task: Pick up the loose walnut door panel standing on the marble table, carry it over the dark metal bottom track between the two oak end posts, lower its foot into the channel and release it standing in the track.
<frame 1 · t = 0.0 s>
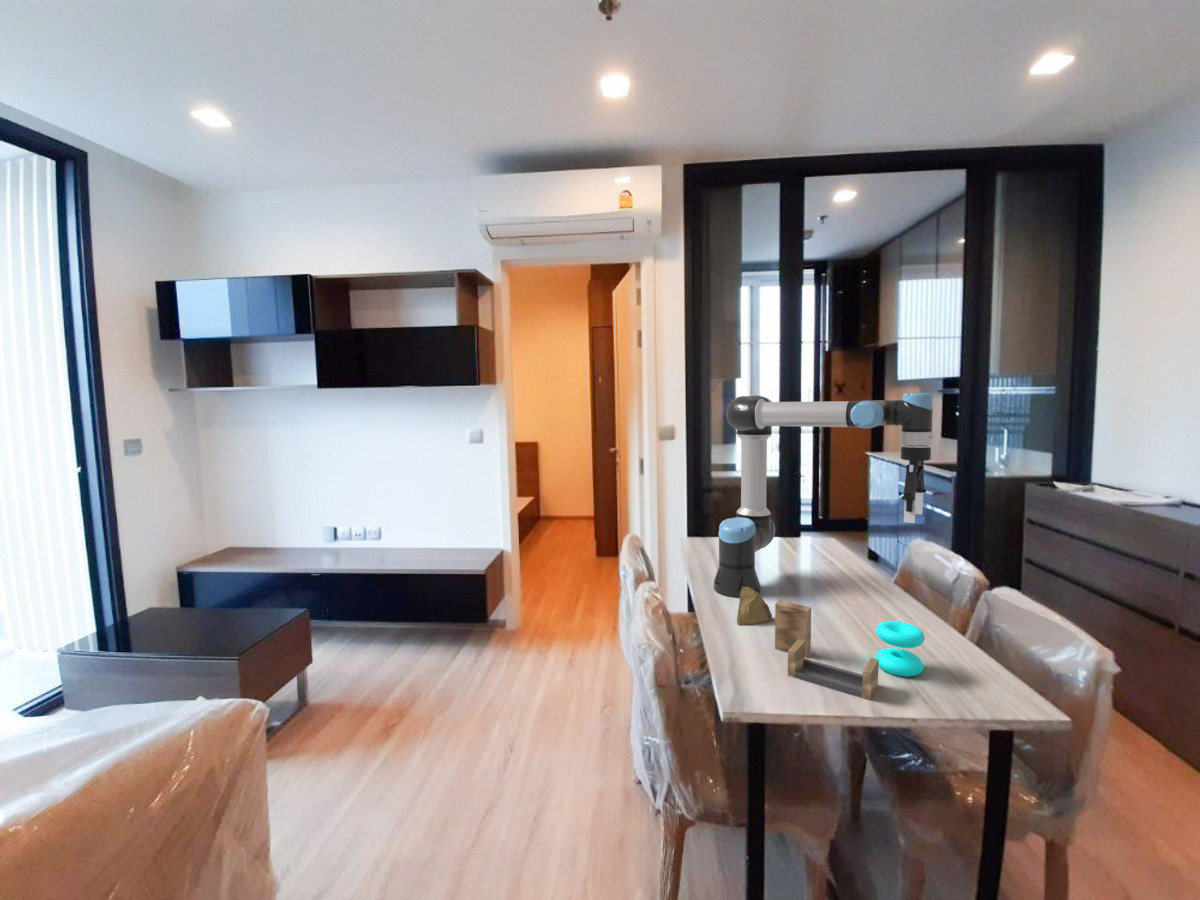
hand: (913, 518, 159), 28 cm above the table, fingers open, 13 cm apart
rock: (754, 622, 156), on the table
door panel: (792, 651, 138), on the table
frame posts: (831, 680, 123), on the table
track: (831, 680, 123), on the table
donuts: (898, 669, 128), on the table
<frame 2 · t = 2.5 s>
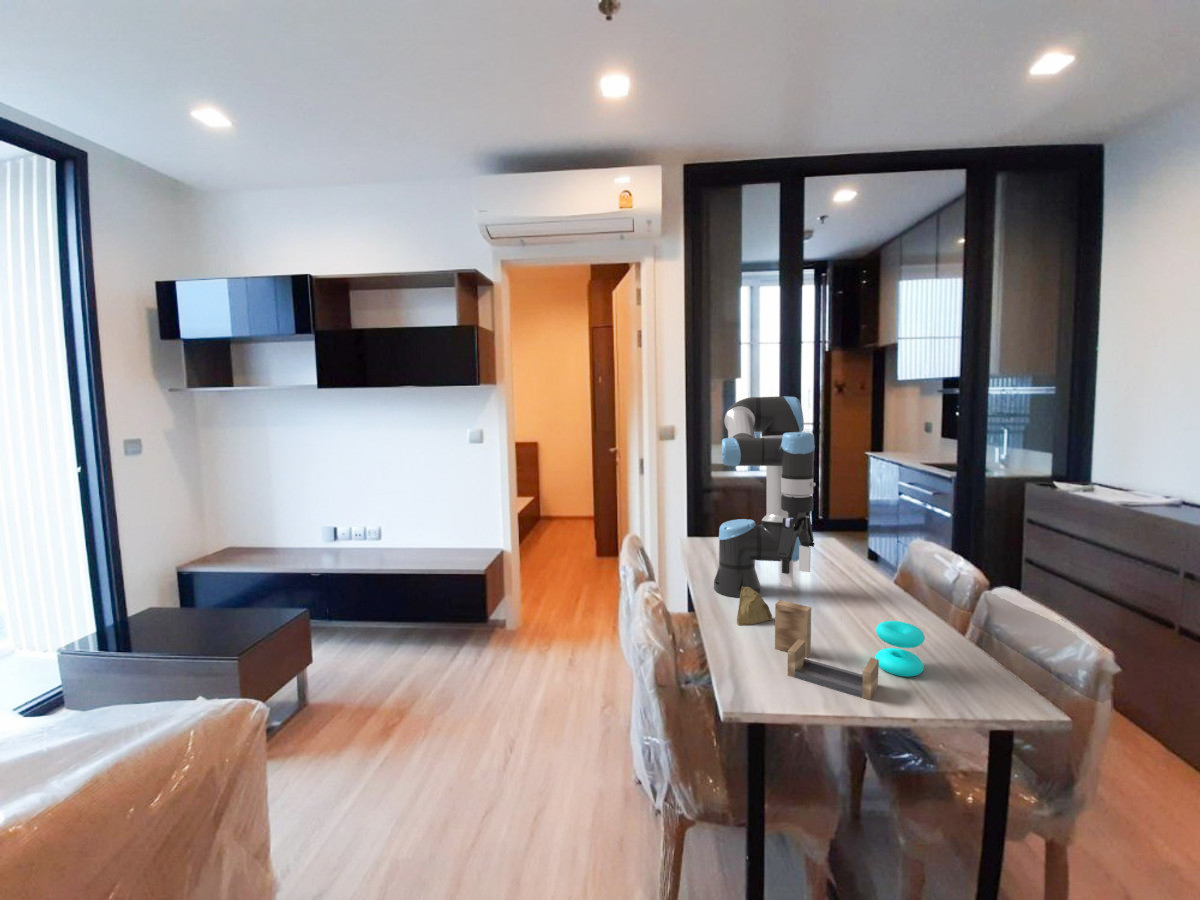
hand: (795, 578, 136), 19 cm above the table, fingers open, 13 cm apart
nothing on the table moved.
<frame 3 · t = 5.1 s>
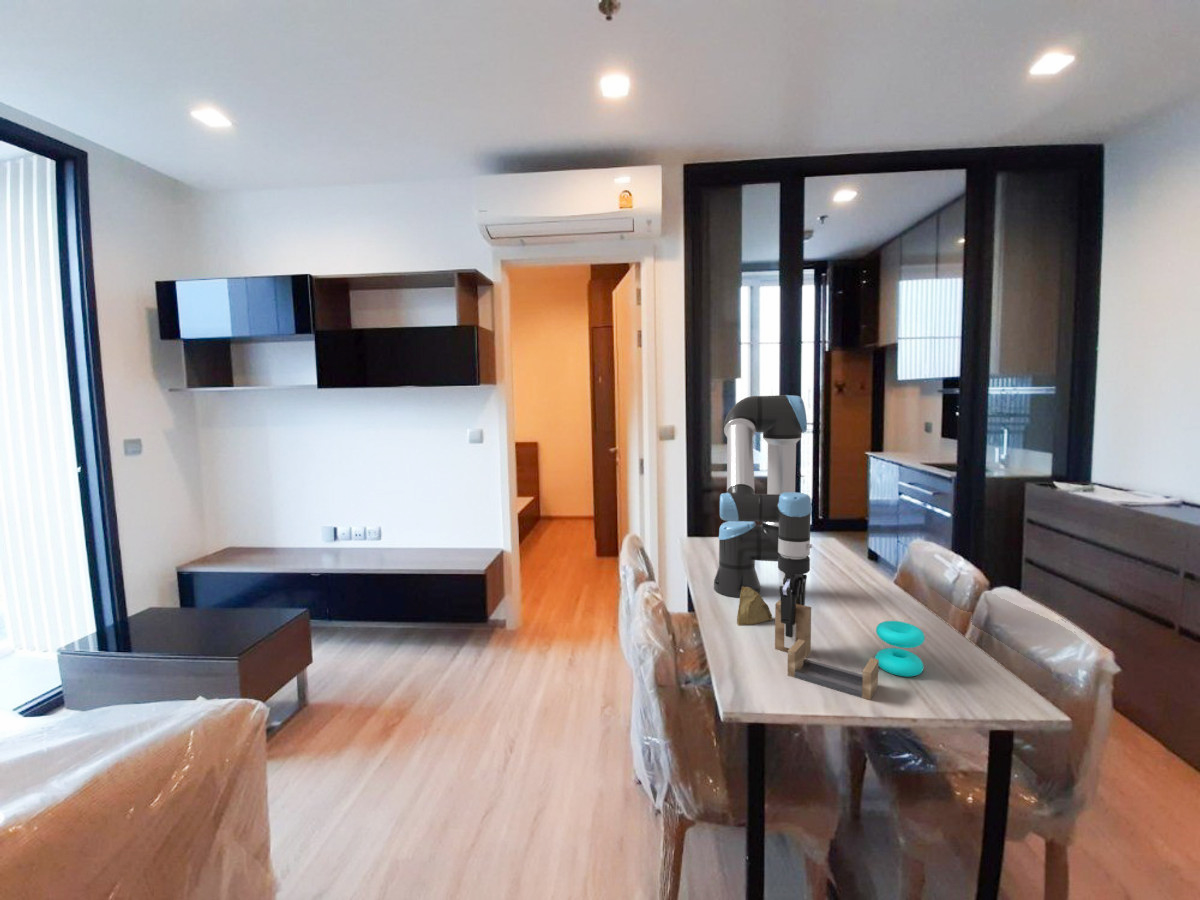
hand: (792, 645, 138), 2 cm above the table, fingers closed on door panel, 3 cm apart
door panel: (792, 651, 138), on the table, touching gripper
everything else where it was.
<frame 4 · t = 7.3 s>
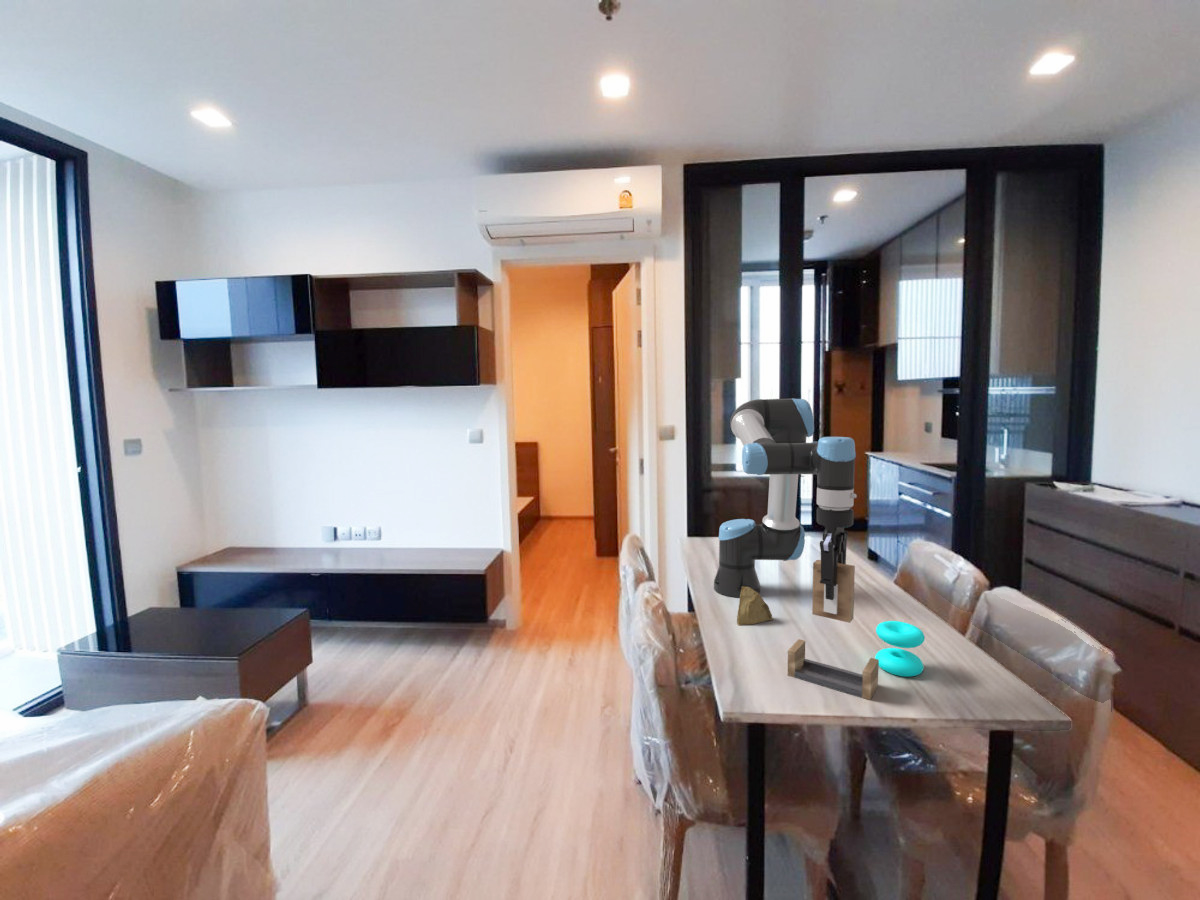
hand: (832, 609, 122), 17 cm above the table, fingers closed on door panel, 3 cm apart
door panel: (832, 616, 122), point 15 cm above the table, touching gripper
everything else where it was.
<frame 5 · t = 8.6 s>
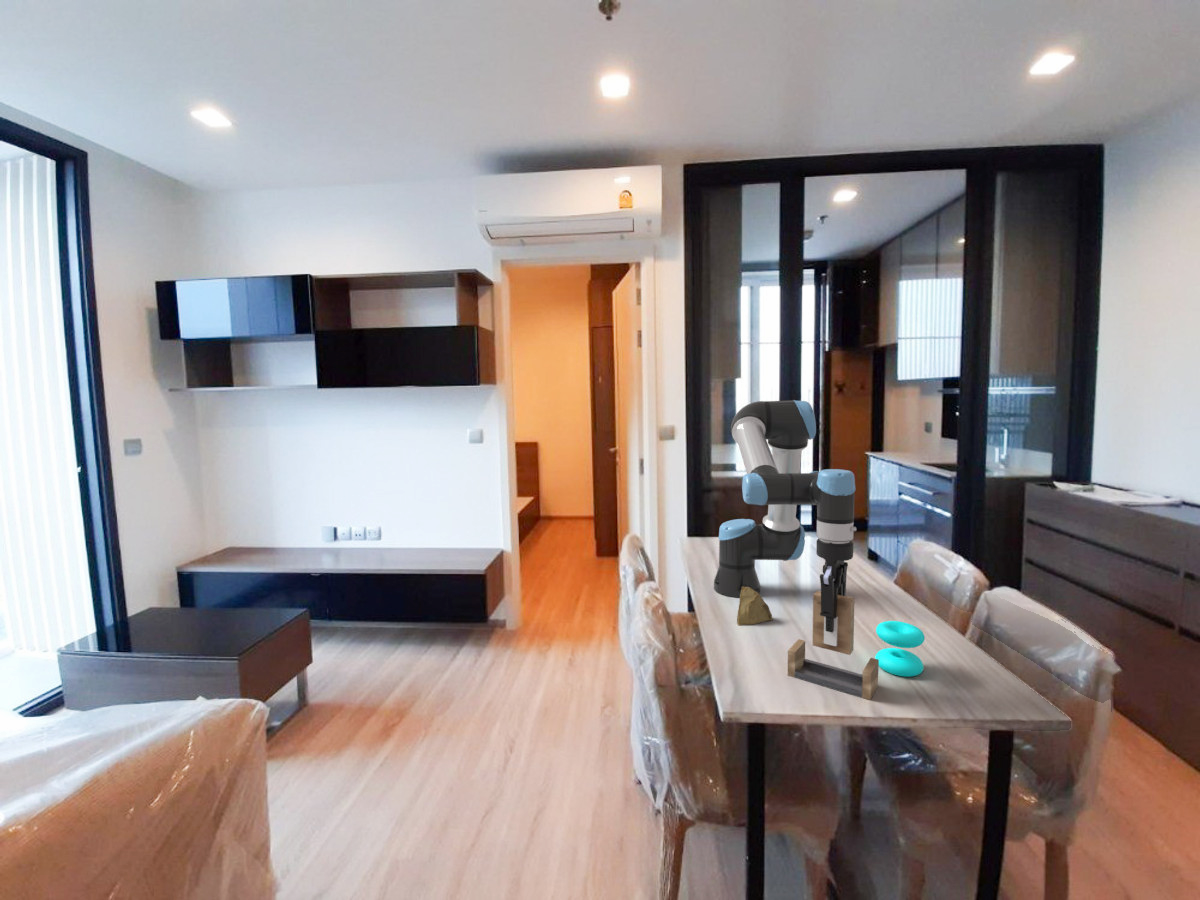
hand: (832, 641, 122), 9 cm above the table, fingers closed on door panel, 3 cm apart
door panel: (832, 647, 123), point 8 cm above the table, touching gripper
everything else where it was.
when the fingers open (4 cm above the table, at t = 9.7 s): door panel drops 2 cm, resting on track.
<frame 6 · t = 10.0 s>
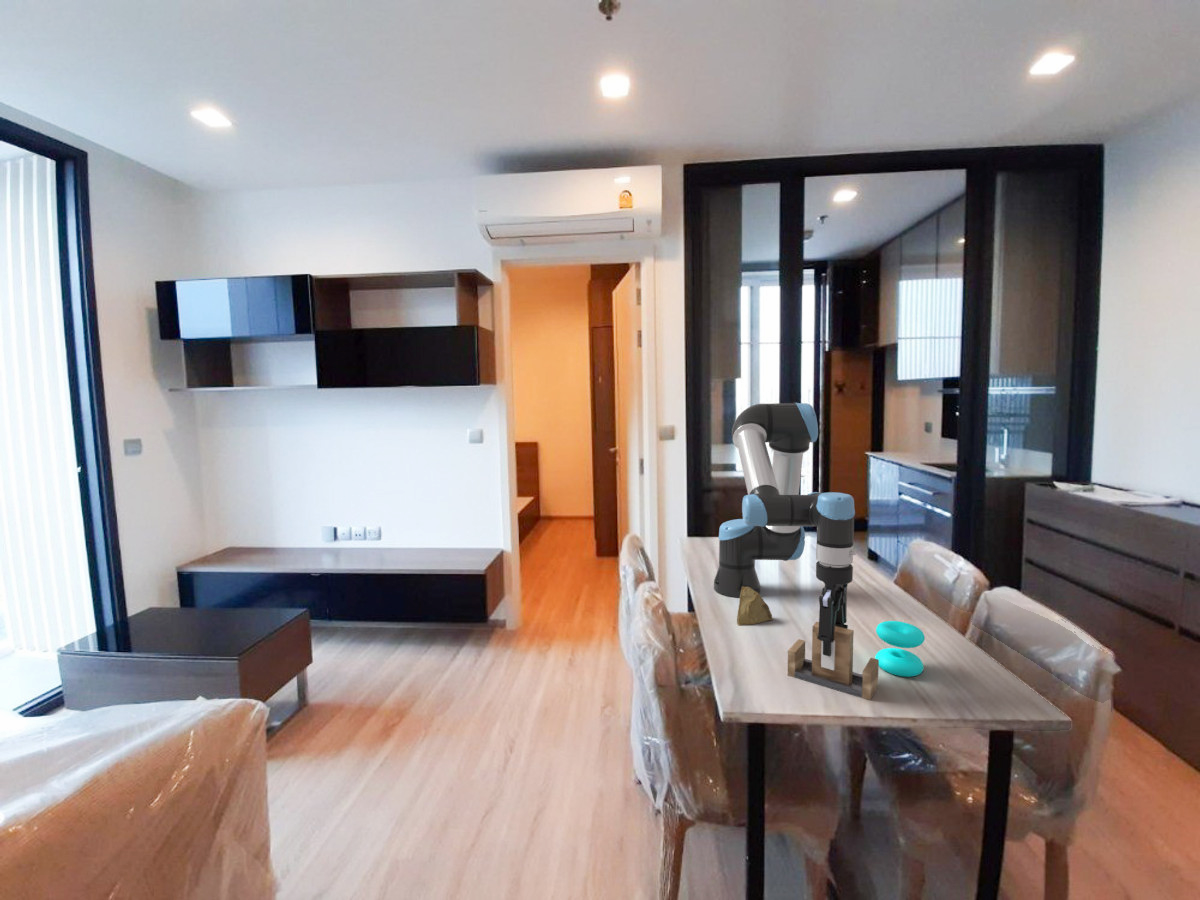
hand: (832, 661, 123), 4 cm above the table, fingers open, 6 cm apart
door panel: (831, 678, 123), resting on track
everything else where it was.
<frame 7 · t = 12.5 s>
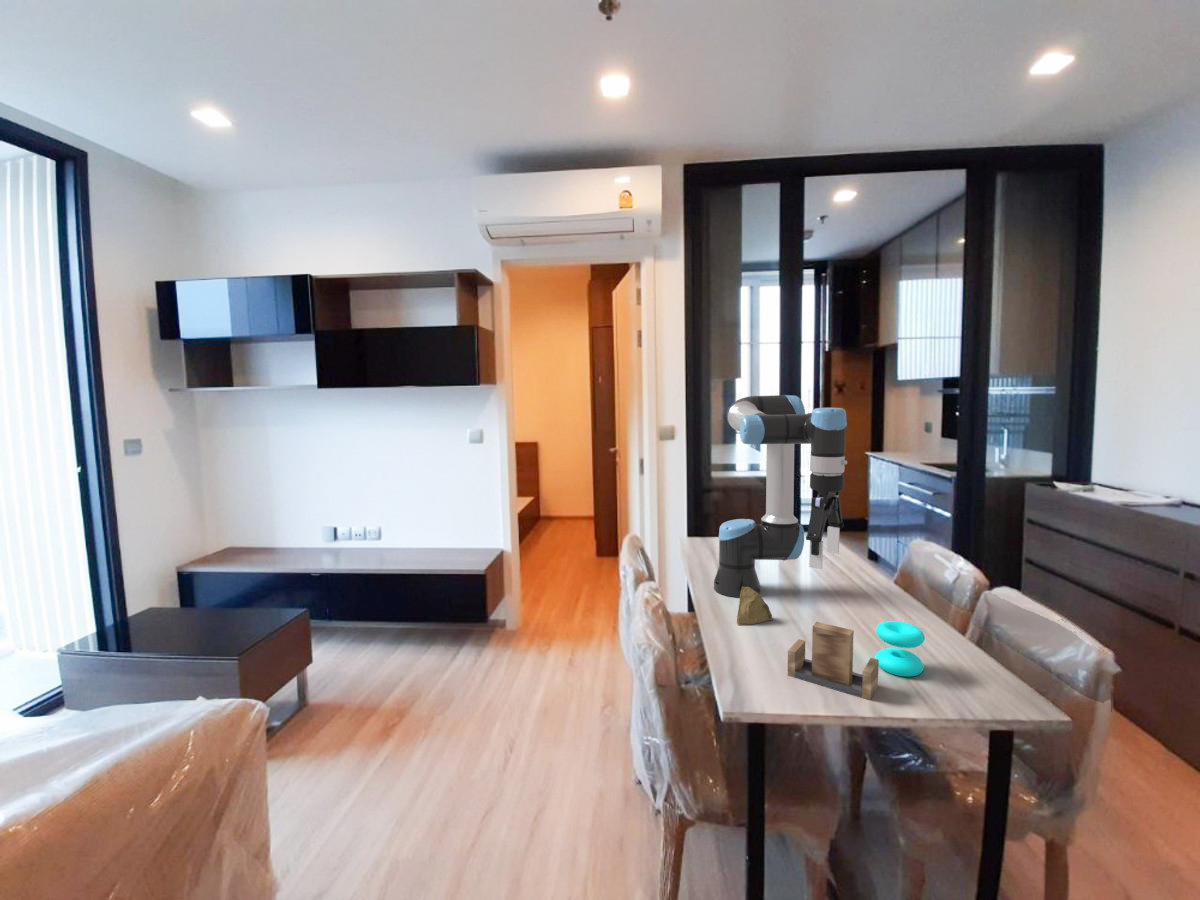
hand: (824, 560, 131), 25 cm above the table, fingers open, 13 cm apart
nothing on the table moved.
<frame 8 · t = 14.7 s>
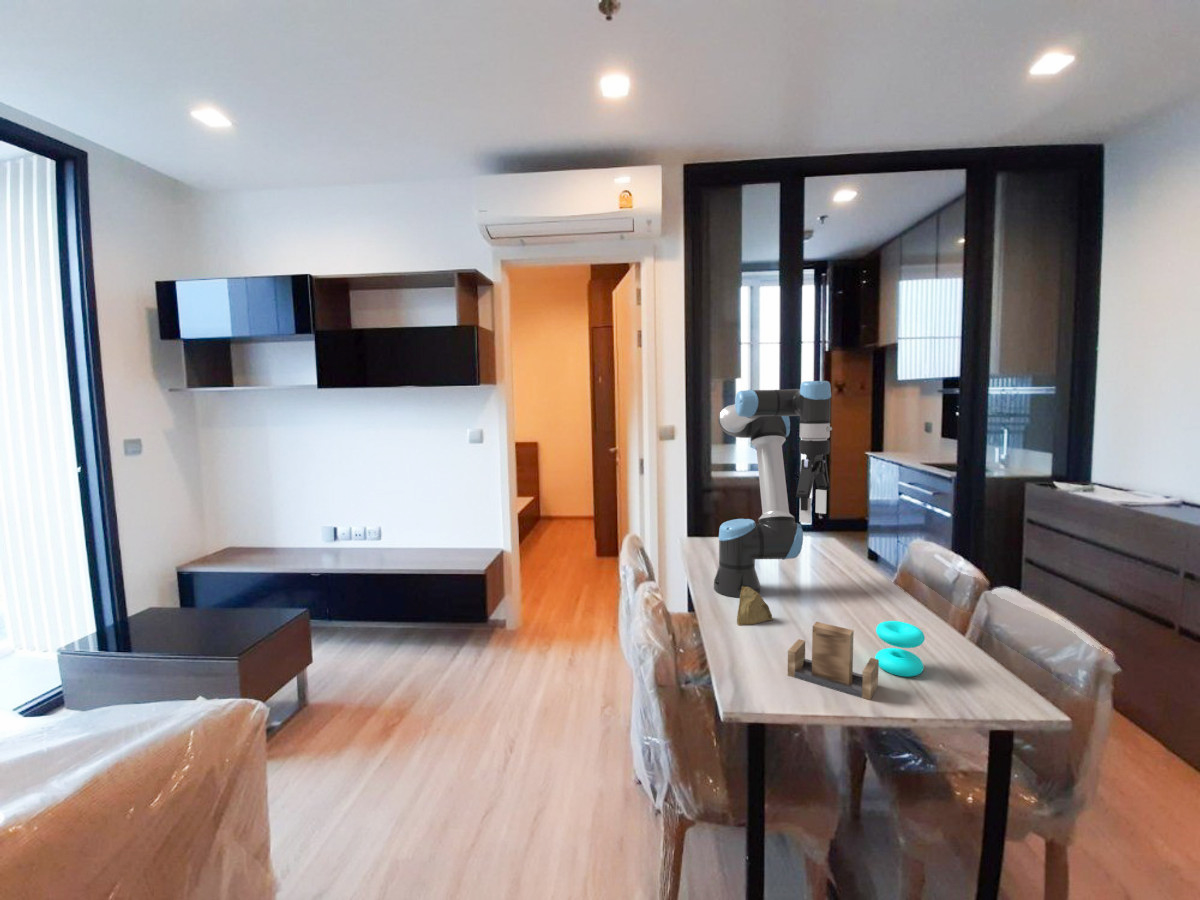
hand: (813, 517, 146), 32 cm above the table, fingers open, 13 cm apart
nothing on the table moved.
at the end: door panel inside the target area on the track (0.0 cm from its centre), point 0.3 cm above the track's base; door panel tilted 0°; the gripper is holding nothing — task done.
